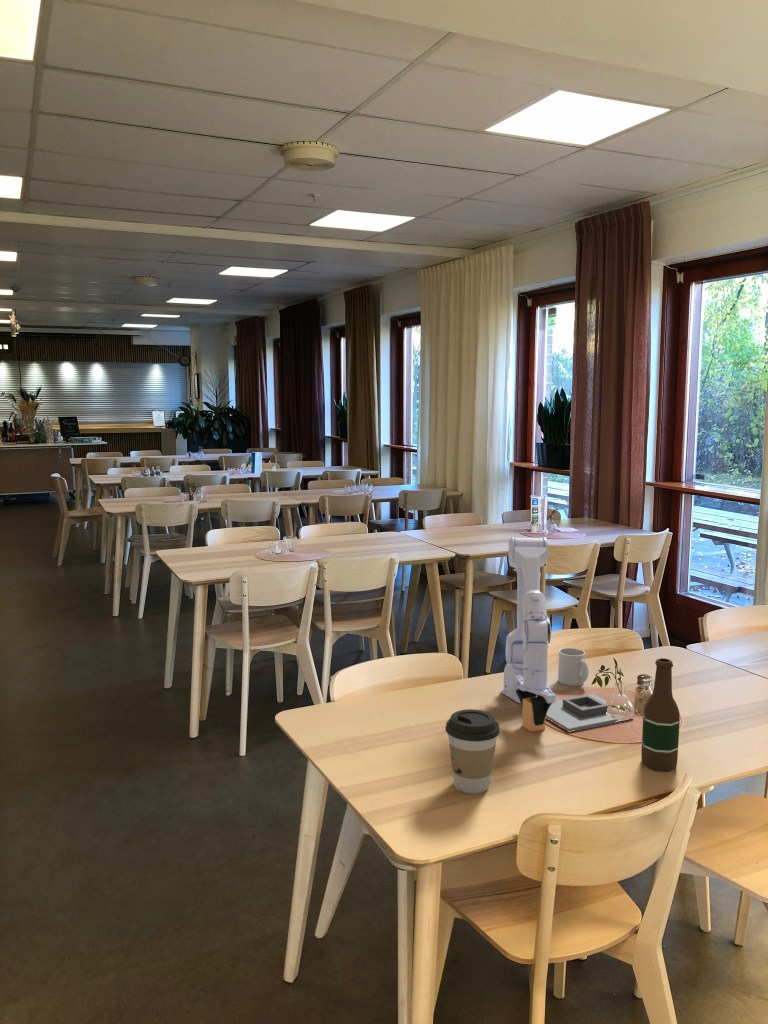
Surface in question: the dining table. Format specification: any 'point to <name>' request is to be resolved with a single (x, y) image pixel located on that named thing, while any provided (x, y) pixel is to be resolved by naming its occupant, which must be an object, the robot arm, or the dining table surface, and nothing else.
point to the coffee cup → (472, 748)
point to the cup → (572, 667)
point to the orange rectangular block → (529, 716)
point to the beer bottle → (661, 722)
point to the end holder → (580, 713)
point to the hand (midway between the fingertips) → (533, 721)
